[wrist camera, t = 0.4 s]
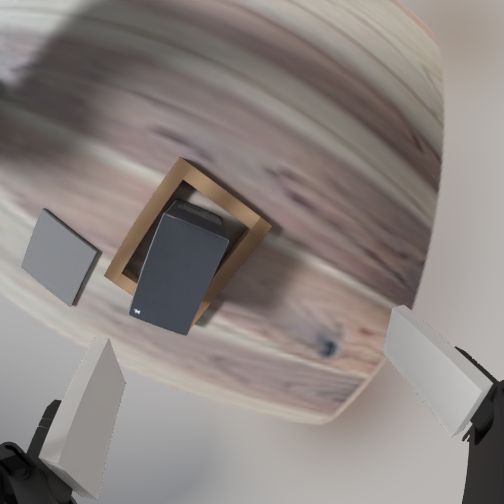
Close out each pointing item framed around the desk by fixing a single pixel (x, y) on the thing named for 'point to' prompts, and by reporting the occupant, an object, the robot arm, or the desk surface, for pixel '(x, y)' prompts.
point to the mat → (58, 257)
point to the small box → (179, 267)
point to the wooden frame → (155, 206)
